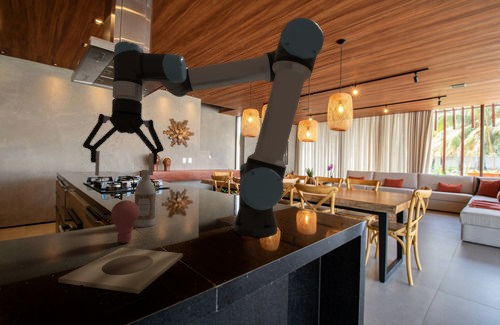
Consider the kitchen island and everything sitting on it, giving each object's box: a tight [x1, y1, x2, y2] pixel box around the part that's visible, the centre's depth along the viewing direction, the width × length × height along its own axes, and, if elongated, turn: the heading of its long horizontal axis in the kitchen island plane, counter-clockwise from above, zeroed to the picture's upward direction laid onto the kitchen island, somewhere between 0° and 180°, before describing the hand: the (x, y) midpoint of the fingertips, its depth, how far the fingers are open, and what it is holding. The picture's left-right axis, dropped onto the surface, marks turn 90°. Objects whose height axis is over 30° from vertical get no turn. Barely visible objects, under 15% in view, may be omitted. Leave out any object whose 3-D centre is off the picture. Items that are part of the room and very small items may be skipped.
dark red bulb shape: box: [110, 199, 139, 244], centre depth 69 cm, size 7×7×12 cm
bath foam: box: [134, 169, 157, 228], centre depth 88 cm, size 7×7×20 cm
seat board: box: [58, 247, 184, 294], centre depth 53 cm, size 17×17×1 cm
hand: (125, 175), depth 69 cm, fingers open, 13 cm apart
